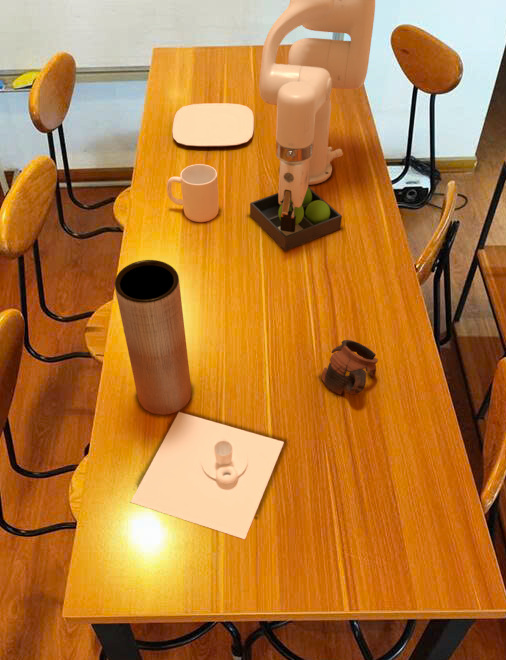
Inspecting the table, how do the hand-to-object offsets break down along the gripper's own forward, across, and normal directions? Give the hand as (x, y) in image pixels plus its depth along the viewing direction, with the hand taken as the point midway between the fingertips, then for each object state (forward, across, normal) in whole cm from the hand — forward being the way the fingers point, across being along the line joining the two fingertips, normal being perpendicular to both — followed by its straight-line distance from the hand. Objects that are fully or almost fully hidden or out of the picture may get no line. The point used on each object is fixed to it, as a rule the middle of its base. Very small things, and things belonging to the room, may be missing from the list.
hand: (290, 221), depth 153 cm
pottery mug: (+5, -40, -20) cm, 45 cm away
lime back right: (+1, +5, -5) cm, 8 cm away
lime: (-2, 0, 0) cm, 2 cm away
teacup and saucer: (+5, -65, 0) cm, 65 cm away
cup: (+4, +4, +24) cm, 25 cm away
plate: (+4, +41, +30) cm, 51 cm away
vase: (+5, -51, +13) cm, 53 cm away
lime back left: (+1, +10, 0) cm, 11 cm away
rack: (+4, +5, 0) cm, 7 cm away
